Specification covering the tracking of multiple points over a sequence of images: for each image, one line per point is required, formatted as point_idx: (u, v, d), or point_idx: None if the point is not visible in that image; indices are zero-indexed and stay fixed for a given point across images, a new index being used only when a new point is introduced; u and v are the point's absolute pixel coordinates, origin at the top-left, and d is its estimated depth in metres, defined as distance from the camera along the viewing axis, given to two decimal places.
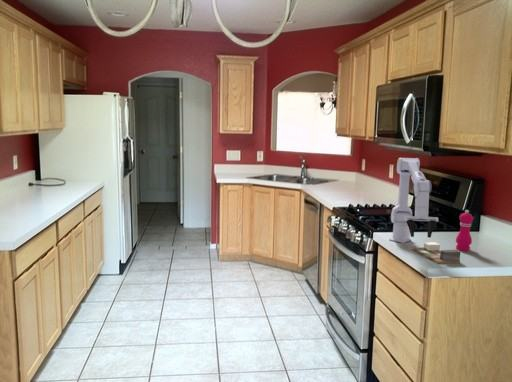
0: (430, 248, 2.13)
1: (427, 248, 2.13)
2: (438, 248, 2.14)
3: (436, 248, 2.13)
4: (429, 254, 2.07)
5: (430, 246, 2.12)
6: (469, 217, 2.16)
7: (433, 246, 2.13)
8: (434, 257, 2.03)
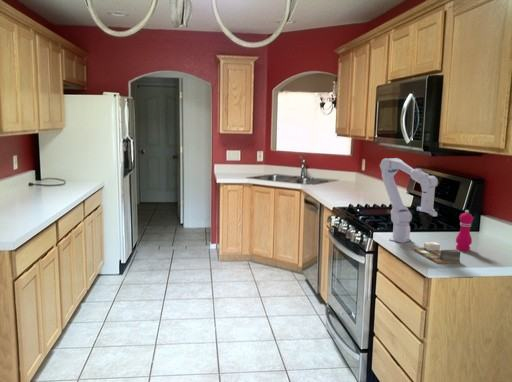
0: (430, 248, 2.13)
1: (427, 248, 2.13)
2: (438, 248, 2.14)
3: (436, 248, 2.13)
4: (429, 254, 2.07)
5: (430, 246, 2.12)
6: (469, 217, 2.16)
7: (433, 246, 2.13)
8: (434, 257, 2.03)
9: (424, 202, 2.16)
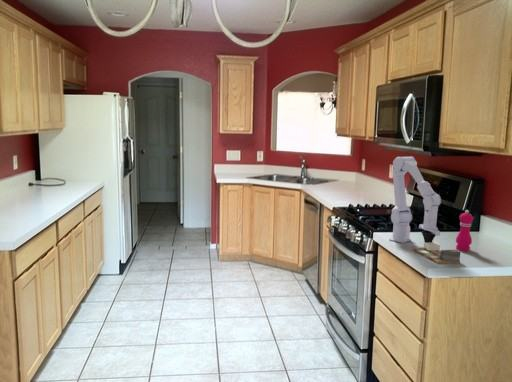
0: (430, 248, 2.13)
1: (427, 248, 2.13)
2: (438, 248, 2.14)
3: (436, 248, 2.13)
4: (429, 254, 2.07)
5: (430, 246, 2.12)
6: (469, 217, 2.16)
7: (433, 246, 2.13)
8: (434, 257, 2.03)
9: (427, 221, 2.14)
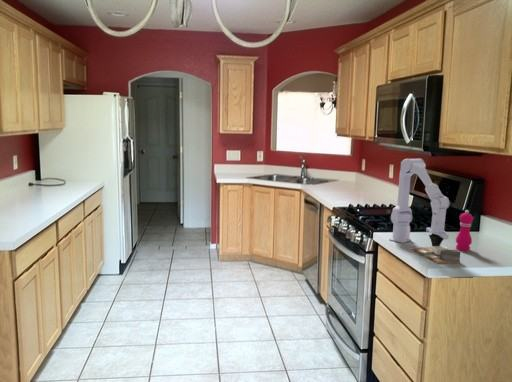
0: (438, 252, 2.07)
1: (435, 252, 2.07)
2: None
3: None
4: (429, 254, 2.07)
5: (438, 250, 2.06)
6: (469, 217, 2.16)
7: None
8: (434, 257, 2.03)
9: (435, 224, 2.08)
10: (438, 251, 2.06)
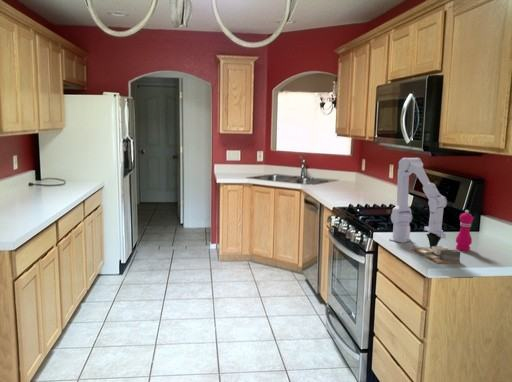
0: (438, 252, 2.07)
1: (435, 252, 2.07)
2: None
3: None
4: (429, 254, 2.07)
5: (438, 250, 2.06)
6: (469, 217, 2.16)
7: None
8: (434, 257, 2.03)
9: (432, 223, 2.10)
10: (438, 251, 2.06)
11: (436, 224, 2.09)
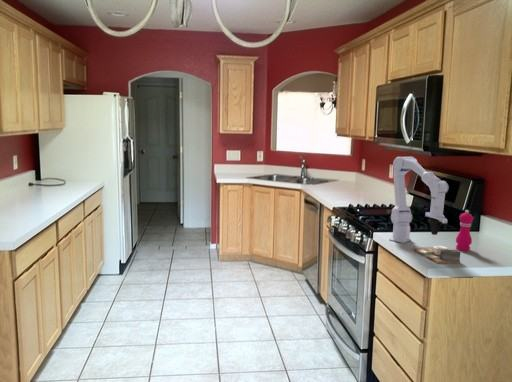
0: (438, 252, 2.07)
1: (435, 252, 2.07)
2: None
3: None
4: (429, 254, 2.07)
5: (438, 250, 2.06)
6: (469, 217, 2.16)
7: None
8: (434, 257, 2.03)
9: (434, 208, 2.09)
10: (438, 251, 2.06)
11: (437, 209, 2.08)
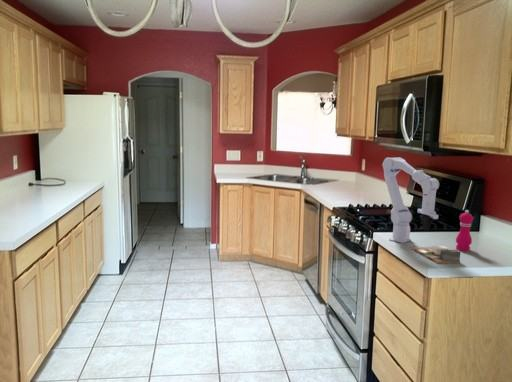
0: (438, 252, 2.07)
1: (435, 252, 2.07)
2: None
3: None
4: (429, 254, 2.07)
5: (438, 250, 2.06)
6: (469, 217, 2.16)
7: None
8: (434, 257, 2.03)
9: (425, 204, 2.16)
10: (438, 251, 2.06)
11: (429, 205, 2.15)
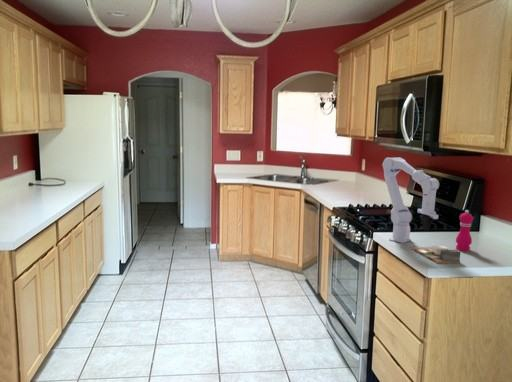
0: (438, 252, 2.07)
1: (435, 252, 2.07)
2: None
3: None
4: (429, 254, 2.07)
5: (438, 250, 2.06)
6: (469, 217, 2.16)
7: None
8: (434, 257, 2.03)
9: (425, 204, 2.16)
10: (438, 251, 2.06)
11: (429, 205, 2.15)
